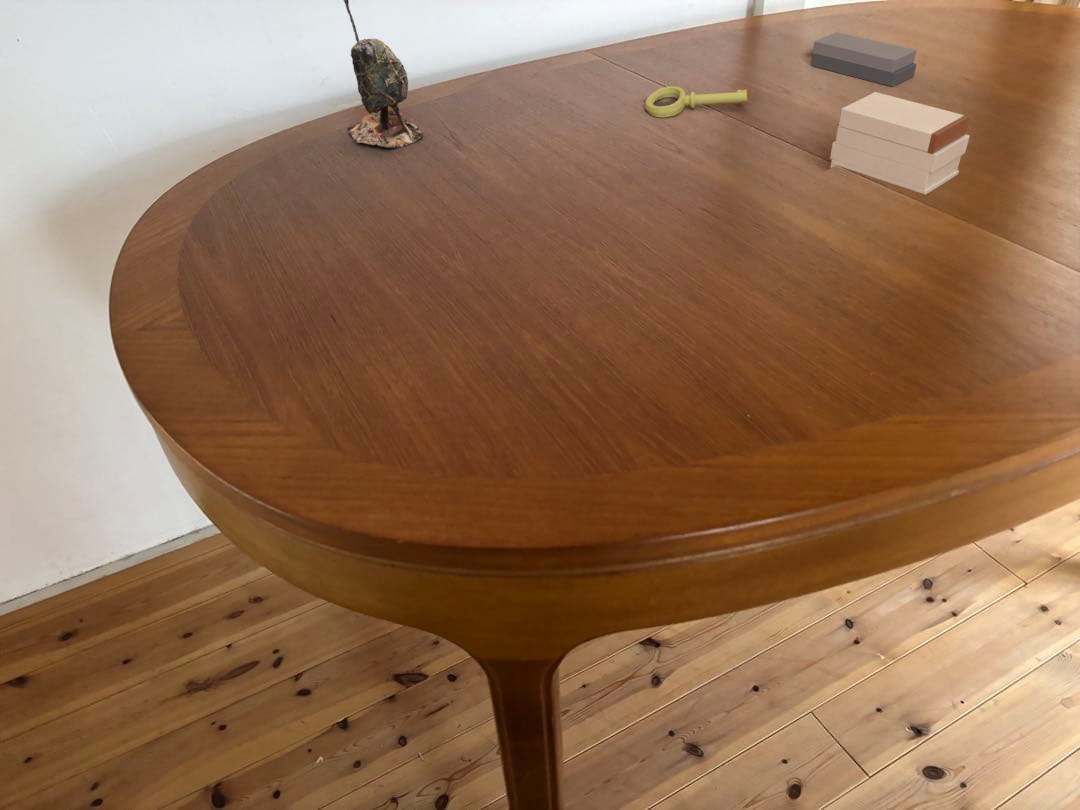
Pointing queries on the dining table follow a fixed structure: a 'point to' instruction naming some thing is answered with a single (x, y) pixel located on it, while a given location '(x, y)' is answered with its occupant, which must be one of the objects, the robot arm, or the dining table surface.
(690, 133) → the dining table surface
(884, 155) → the beige box
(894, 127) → the white book
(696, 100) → the key
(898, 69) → the grey stack
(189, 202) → the dining table surface
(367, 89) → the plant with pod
